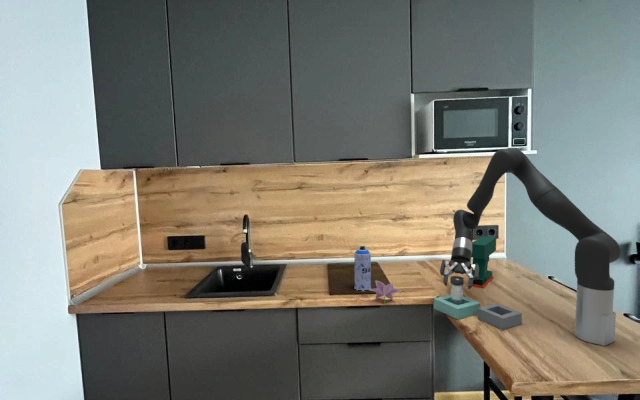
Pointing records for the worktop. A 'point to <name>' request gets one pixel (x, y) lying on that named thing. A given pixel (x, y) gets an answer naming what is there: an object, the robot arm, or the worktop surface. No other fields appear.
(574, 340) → the worktop surface
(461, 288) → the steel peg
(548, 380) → the worktop surface
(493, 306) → the socket block
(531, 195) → the robot arm
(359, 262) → the aerosol can
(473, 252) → the power tool
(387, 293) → the lily
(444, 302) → the teal square tray
